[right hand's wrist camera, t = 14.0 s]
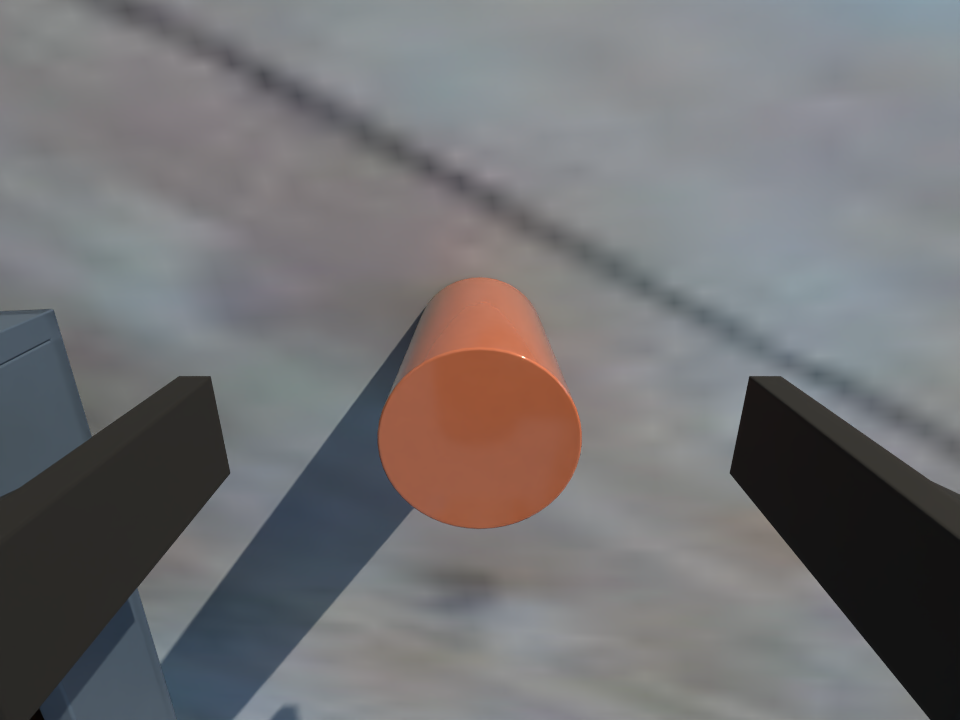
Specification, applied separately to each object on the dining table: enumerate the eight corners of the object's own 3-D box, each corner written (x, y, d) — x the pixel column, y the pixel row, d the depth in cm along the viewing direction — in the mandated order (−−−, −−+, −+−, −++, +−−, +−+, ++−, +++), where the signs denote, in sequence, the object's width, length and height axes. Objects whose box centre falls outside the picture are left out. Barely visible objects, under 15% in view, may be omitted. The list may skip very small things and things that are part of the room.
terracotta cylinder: (539, 396, 21) (575, 529, 13) (419, 396, 21) (383, 530, 13) (544, 277, 20) (589, 348, 12) (414, 277, 20) (369, 347, 12)
